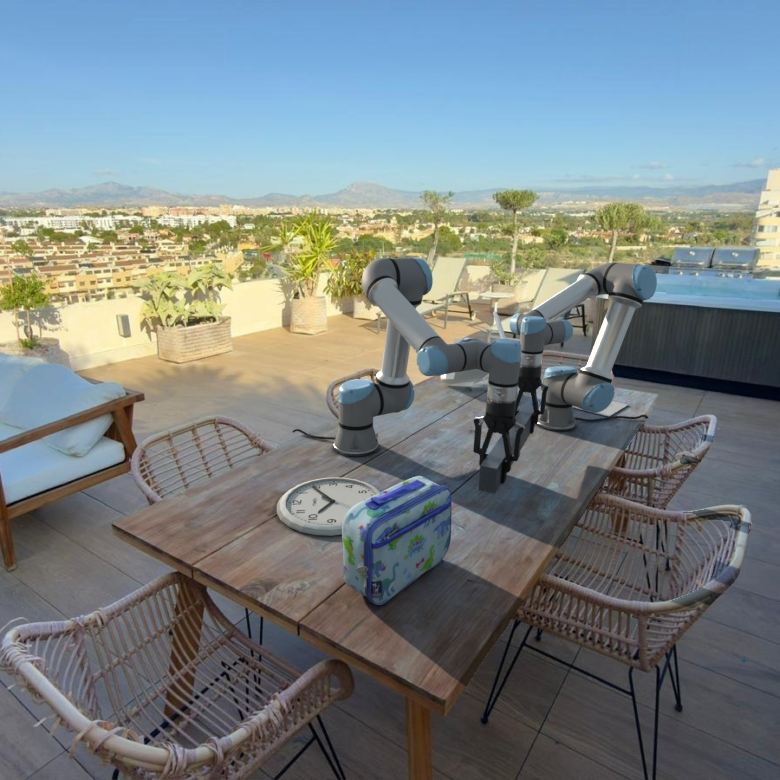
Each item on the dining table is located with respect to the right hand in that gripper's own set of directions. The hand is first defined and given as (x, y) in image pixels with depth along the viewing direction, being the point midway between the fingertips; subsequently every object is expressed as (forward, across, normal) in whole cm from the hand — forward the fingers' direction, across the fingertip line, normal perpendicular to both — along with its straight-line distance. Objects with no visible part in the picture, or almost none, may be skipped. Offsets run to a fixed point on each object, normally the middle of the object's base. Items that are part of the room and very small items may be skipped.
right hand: (524, 430), depth 177 cm
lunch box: (+6, -11, -80) cm, 81 cm away
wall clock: (+6, -40, -60) cm, 72 cm away
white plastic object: (+8, -32, +59) cm, 67 cm away
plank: (0, 0, -20) cm, 20 cm away
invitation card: (+9, +21, +64) cm, 68 cm away
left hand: (0, 0, -40) cm, 40 cm away
